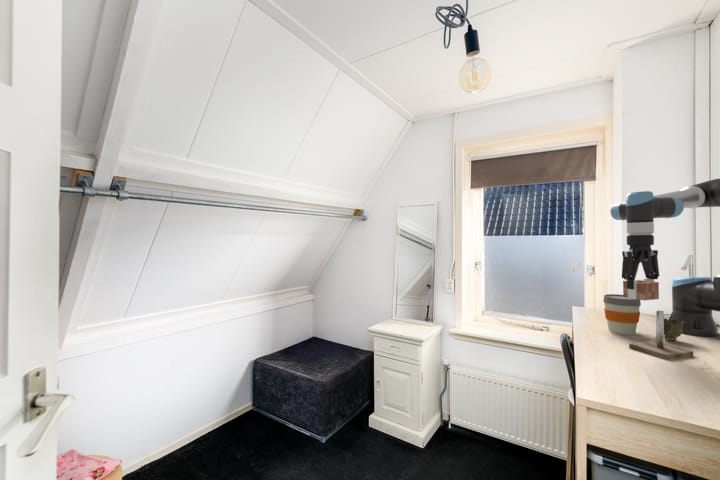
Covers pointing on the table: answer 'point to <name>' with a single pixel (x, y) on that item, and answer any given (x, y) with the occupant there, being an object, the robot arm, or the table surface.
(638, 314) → the reusable coffee cup
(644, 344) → the brown square board
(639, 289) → the brown open box
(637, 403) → the table surface
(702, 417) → the table surface
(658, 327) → the silver metal rod
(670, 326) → the cup
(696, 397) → the table surface
